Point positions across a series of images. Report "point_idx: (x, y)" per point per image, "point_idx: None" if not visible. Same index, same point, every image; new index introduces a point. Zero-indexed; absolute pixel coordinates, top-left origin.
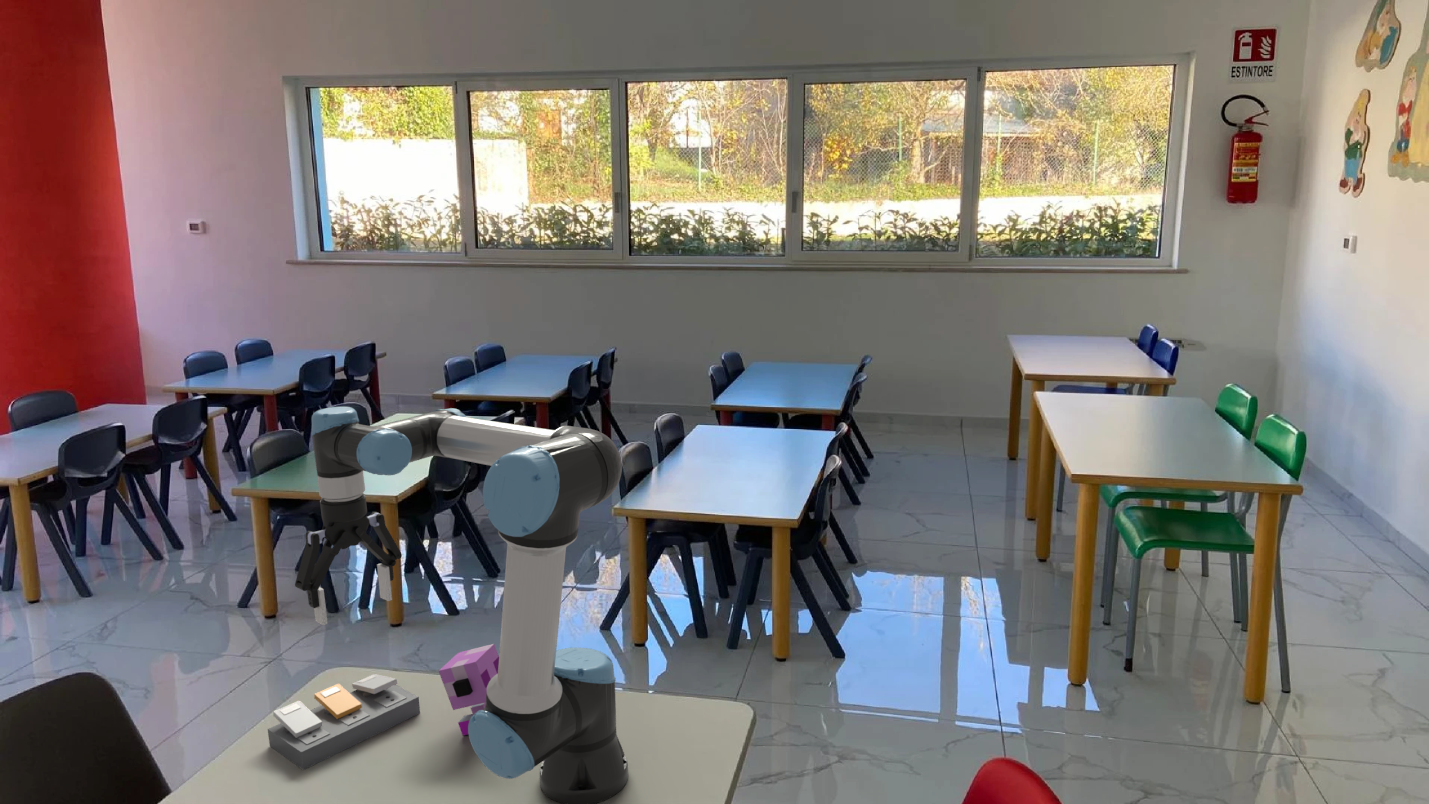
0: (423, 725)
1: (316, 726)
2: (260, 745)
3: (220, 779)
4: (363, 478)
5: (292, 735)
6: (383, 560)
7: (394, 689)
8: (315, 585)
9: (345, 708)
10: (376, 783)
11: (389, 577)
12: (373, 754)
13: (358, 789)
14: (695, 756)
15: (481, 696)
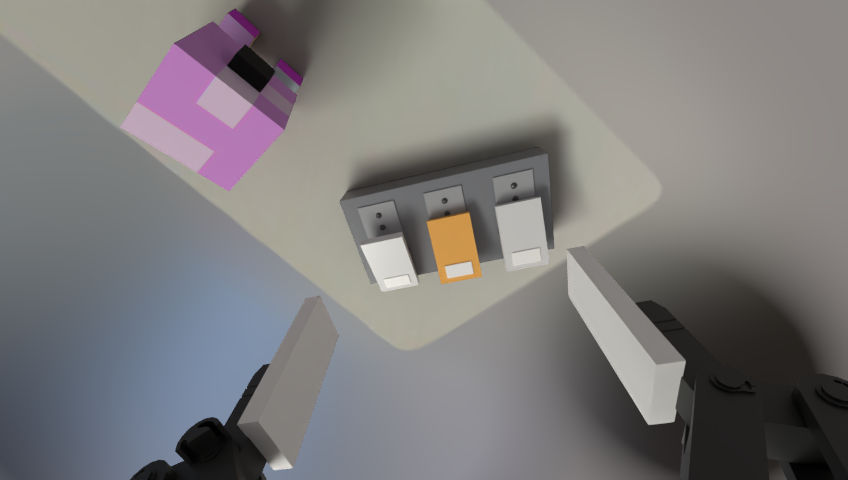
0: (351, 154)
1: (504, 204)
2: None
3: (627, 196)
4: None
5: None
6: (242, 475)
7: None
8: (739, 396)
9: (452, 221)
10: (468, 26)
11: (268, 370)
12: (441, 121)
13: (498, 28)
14: None
15: (224, 39)
